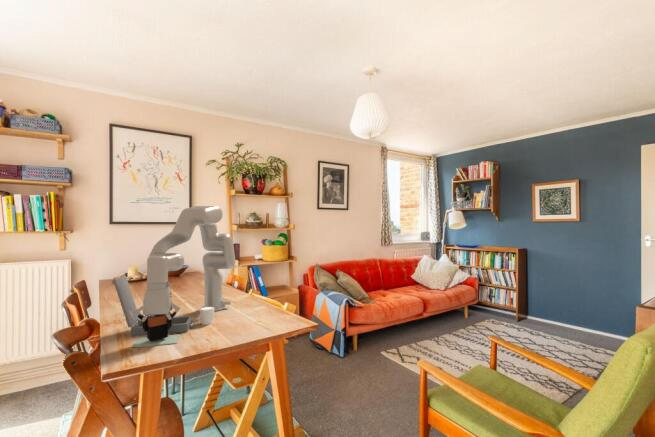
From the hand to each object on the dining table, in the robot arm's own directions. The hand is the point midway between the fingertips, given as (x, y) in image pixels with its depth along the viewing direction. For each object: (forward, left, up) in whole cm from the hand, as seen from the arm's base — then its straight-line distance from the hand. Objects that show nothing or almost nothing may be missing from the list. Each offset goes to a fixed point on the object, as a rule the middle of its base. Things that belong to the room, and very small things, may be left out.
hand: (157, 329), depth 129 cm
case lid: (+15, -15, +9) cm, 23 cm away
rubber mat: (0, 0, -5) cm, 5 cm away
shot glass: (-17, -20, -5) cm, 27 cm away
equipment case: (+1, -15, -5) cm, 16 cm away
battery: (0, 0, -4) cm, 4 cm away
